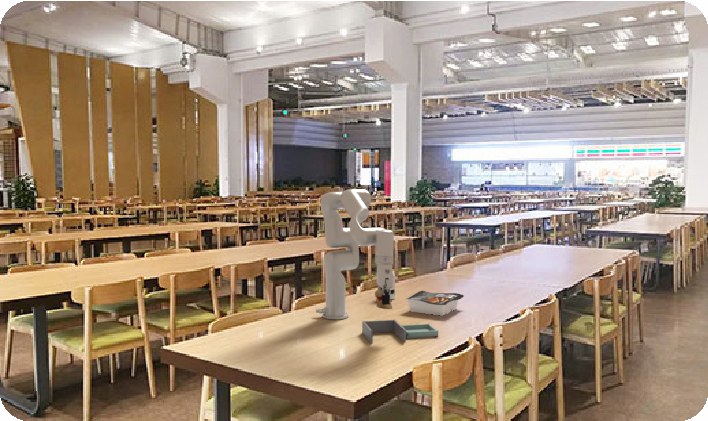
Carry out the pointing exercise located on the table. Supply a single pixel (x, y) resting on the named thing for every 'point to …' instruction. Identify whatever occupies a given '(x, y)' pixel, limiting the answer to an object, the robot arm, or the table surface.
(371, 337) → the bay
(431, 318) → the table surface
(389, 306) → the chocolate bunny
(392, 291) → the supplement can
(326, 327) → the table surface
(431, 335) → the tray
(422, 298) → the food packaging
